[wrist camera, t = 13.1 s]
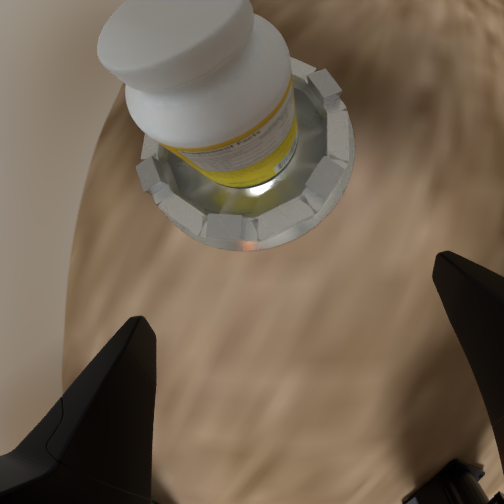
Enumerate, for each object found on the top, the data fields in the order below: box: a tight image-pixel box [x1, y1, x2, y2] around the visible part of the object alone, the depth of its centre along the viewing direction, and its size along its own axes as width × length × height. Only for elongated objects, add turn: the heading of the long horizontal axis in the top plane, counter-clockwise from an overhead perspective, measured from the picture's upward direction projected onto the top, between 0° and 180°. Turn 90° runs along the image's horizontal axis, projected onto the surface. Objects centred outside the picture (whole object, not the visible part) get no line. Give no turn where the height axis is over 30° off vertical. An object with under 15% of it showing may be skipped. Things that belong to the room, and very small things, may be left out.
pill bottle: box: [97, 0, 298, 189], centre depth 11 cm, size 6×6×12 cm
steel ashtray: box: [135, 57, 355, 251], centre depth 16 cm, size 14×14×3 cm
